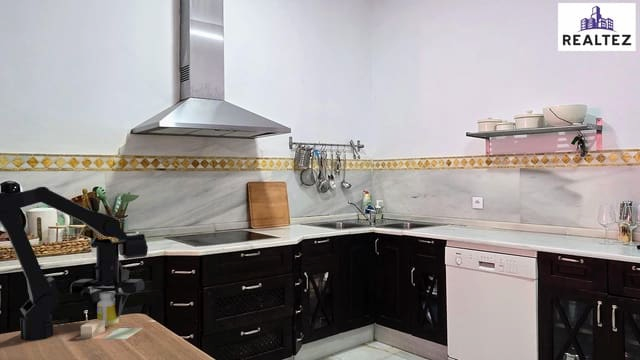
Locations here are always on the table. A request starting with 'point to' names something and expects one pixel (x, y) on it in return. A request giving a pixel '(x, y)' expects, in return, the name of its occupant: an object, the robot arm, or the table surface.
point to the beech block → (92, 328)
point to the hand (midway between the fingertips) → (108, 316)
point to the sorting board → (115, 333)
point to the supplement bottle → (107, 308)
